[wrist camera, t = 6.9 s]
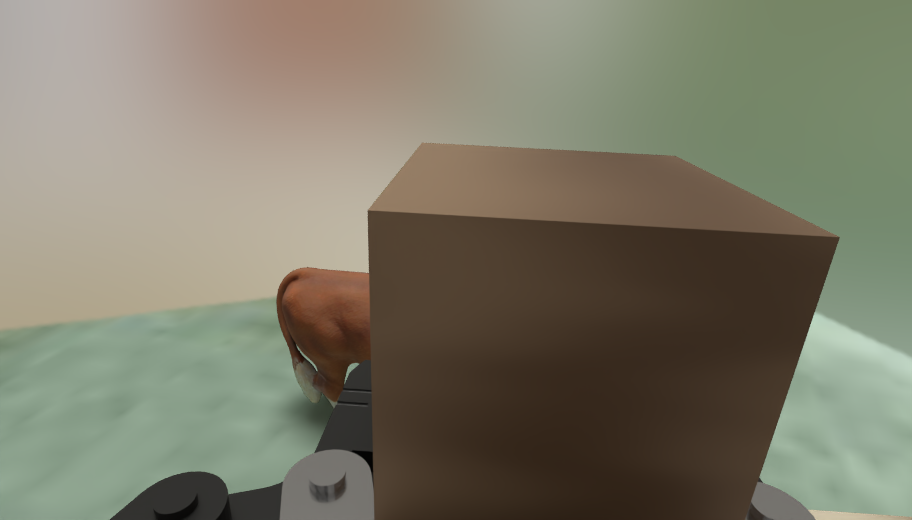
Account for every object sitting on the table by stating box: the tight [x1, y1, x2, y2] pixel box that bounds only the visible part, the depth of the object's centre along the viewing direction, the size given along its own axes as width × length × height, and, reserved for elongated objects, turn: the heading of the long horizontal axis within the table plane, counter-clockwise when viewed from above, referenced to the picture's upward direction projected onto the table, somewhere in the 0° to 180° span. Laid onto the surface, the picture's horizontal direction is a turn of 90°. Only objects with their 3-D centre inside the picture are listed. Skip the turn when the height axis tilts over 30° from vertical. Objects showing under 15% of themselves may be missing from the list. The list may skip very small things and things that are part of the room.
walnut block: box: [368, 143, 839, 520], centre depth 9 cm, size 4×4×12 cm
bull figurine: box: [276, 267, 371, 408], centre depth 21 cm, size 4×13×8 cm, turn 76°
